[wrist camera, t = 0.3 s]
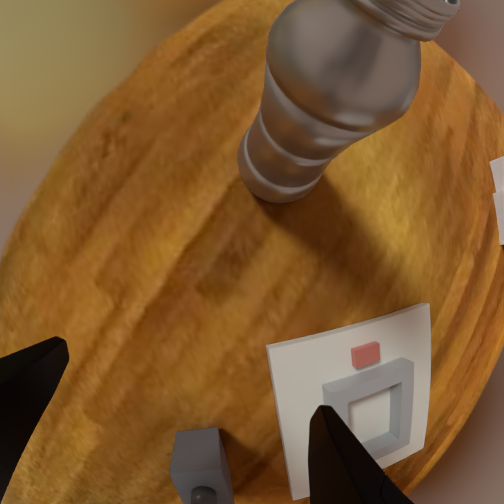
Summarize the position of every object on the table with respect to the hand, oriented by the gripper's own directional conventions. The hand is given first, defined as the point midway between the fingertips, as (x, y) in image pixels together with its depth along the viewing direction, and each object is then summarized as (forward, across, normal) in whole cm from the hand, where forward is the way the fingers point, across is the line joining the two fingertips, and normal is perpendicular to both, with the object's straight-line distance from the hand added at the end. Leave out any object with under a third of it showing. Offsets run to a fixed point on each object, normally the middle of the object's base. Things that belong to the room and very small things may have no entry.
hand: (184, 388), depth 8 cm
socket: (+11, -15, +12) cm, 22 cm away
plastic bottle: (+18, -2, -6) cm, 19 cm away
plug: (+8, -1, +17) cm, 18 cm away
